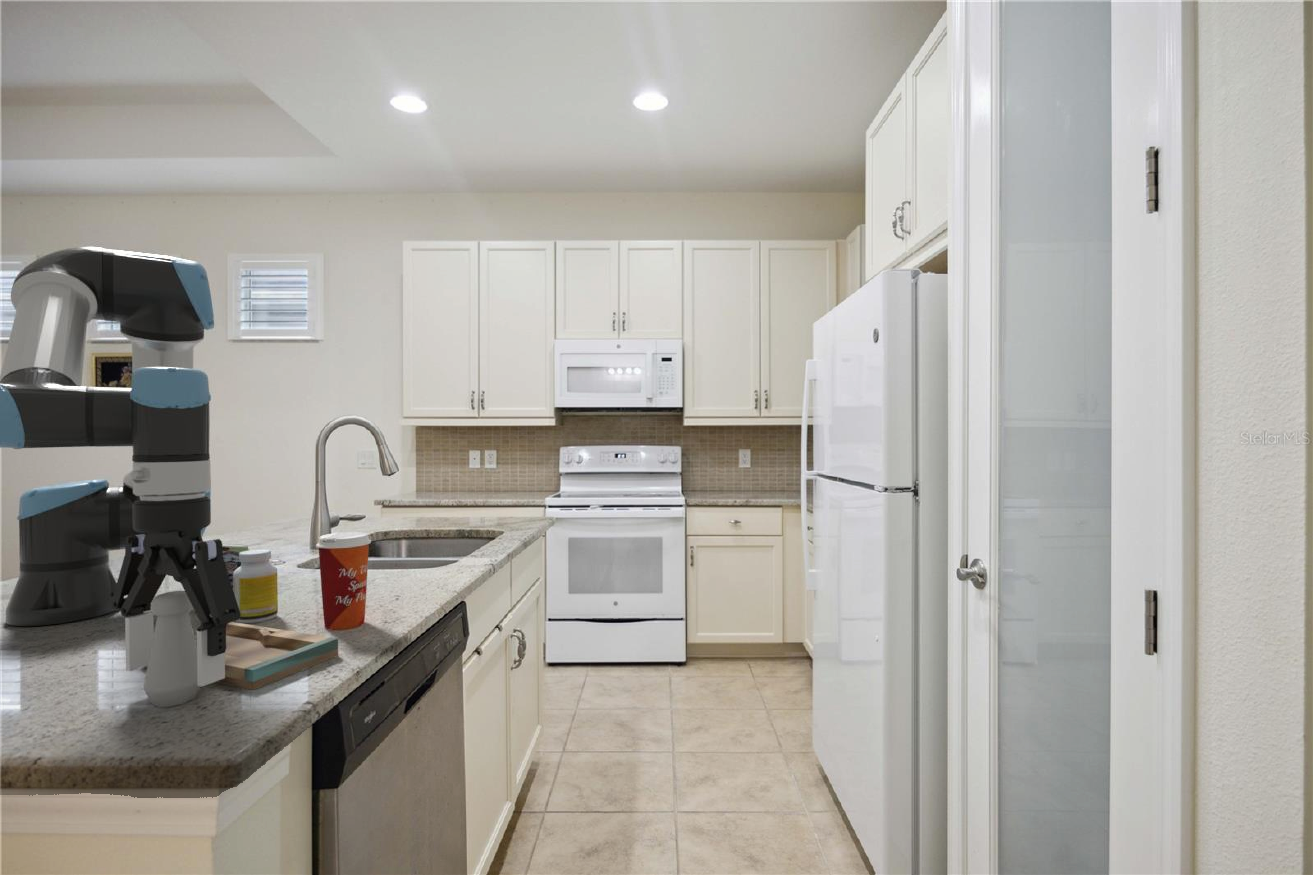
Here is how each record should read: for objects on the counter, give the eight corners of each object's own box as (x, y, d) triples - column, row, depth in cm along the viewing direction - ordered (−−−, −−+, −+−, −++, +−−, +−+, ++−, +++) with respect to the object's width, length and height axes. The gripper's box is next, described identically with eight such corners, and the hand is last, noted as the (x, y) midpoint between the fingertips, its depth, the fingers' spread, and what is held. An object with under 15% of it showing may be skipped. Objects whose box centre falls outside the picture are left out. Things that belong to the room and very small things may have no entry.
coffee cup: (350, 634, 103) (349, 540, 102) (305, 630, 104) (304, 538, 104) (382, 618, 111) (381, 531, 111) (340, 616, 112) (339, 530, 112)
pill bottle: (282, 619, 111) (281, 551, 111) (238, 627, 106) (237, 557, 106) (272, 611, 115) (271, 546, 115) (229, 618, 111) (228, 551, 111)
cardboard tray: (140, 666, 89) (139, 648, 89) (232, 637, 101) (232, 622, 101) (253, 689, 81) (252, 670, 81) (338, 655, 93) (338, 638, 93)
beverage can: (194, 613, 114) (193, 546, 114) (235, 603, 121) (234, 539, 121) (218, 617, 112) (217, 548, 112) (258, 606, 119) (257, 541, 118)
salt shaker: (166, 691, 80) (164, 587, 80) (214, 689, 81) (213, 586, 81) (132, 711, 75) (130, 599, 74) (184, 709, 75) (183, 598, 75)
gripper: (73, 496, 78) (75, 671, 79) (210, 504, 70) (212, 701, 70) (141, 490, 85) (143, 651, 86) (274, 497, 77) (275, 677, 77)
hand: (174, 674), depth 78 cm, fingers open, 12 cm apart
